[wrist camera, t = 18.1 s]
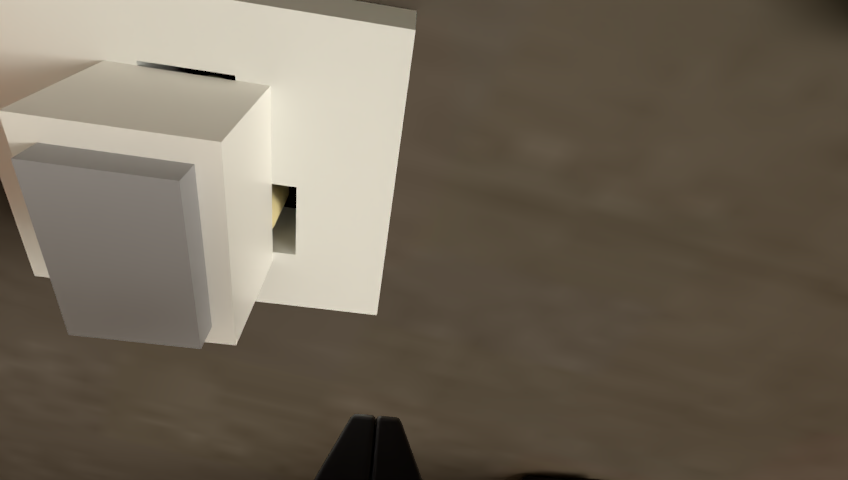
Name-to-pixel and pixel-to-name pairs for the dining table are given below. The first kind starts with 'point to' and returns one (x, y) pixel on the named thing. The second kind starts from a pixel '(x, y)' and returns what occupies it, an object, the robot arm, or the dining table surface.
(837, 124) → the dining table surface
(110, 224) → the plug
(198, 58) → the socket
